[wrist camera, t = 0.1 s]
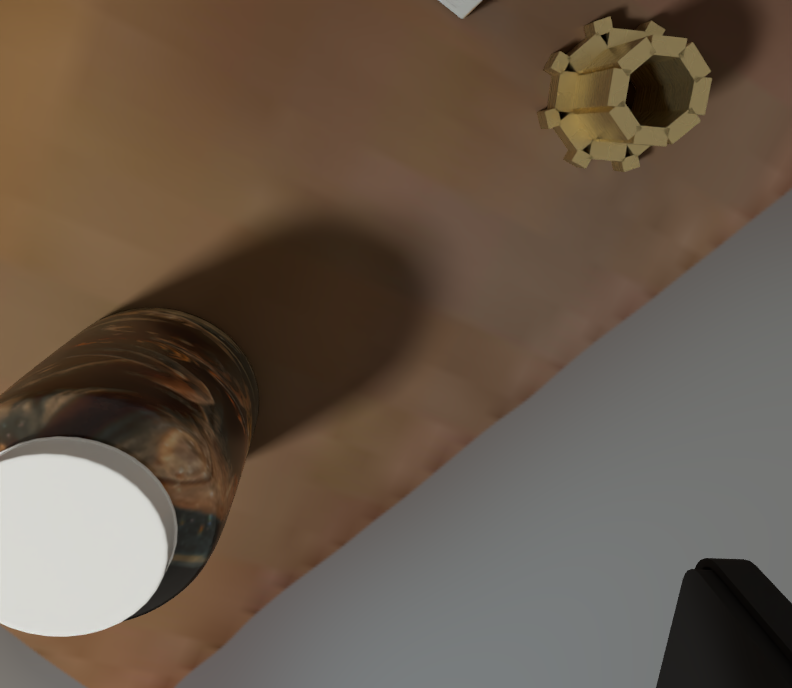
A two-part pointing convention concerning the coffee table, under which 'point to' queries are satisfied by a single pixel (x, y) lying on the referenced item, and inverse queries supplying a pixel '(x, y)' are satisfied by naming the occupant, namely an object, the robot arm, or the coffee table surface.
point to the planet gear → (624, 93)
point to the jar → (119, 469)
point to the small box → (461, 6)
